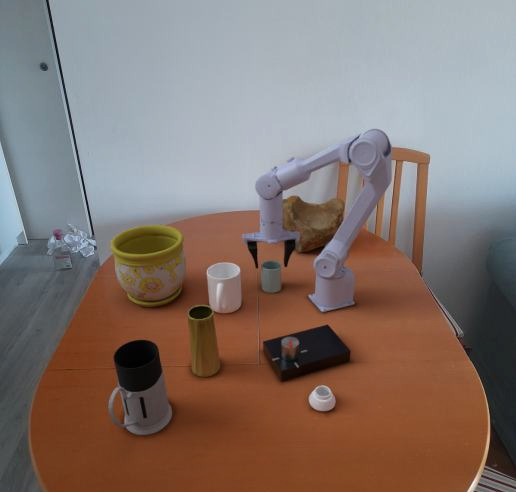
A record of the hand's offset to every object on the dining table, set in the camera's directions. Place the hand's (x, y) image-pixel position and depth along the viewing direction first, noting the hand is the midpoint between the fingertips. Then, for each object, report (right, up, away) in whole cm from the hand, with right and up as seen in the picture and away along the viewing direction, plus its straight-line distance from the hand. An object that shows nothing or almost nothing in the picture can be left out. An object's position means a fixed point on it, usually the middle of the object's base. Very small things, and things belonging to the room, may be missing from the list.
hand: (271, 266), depth 118 cm
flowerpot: (-31, -8, +2) cm, 32 cm away
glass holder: (-25, -29, -37) cm, 54 cm away
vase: (-15, -22, -24) cm, 35 cm away
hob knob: (+3, -19, -26) cm, 32 cm away
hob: (+7, -20, -22) cm, 30 cm away
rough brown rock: (+13, +6, +25) cm, 29 cm away
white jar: (+9, -26, -33) cm, 43 cm away
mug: (-12, -11, -5) cm, 17 cm away
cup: (0, -6, +3) cm, 7 cm away
